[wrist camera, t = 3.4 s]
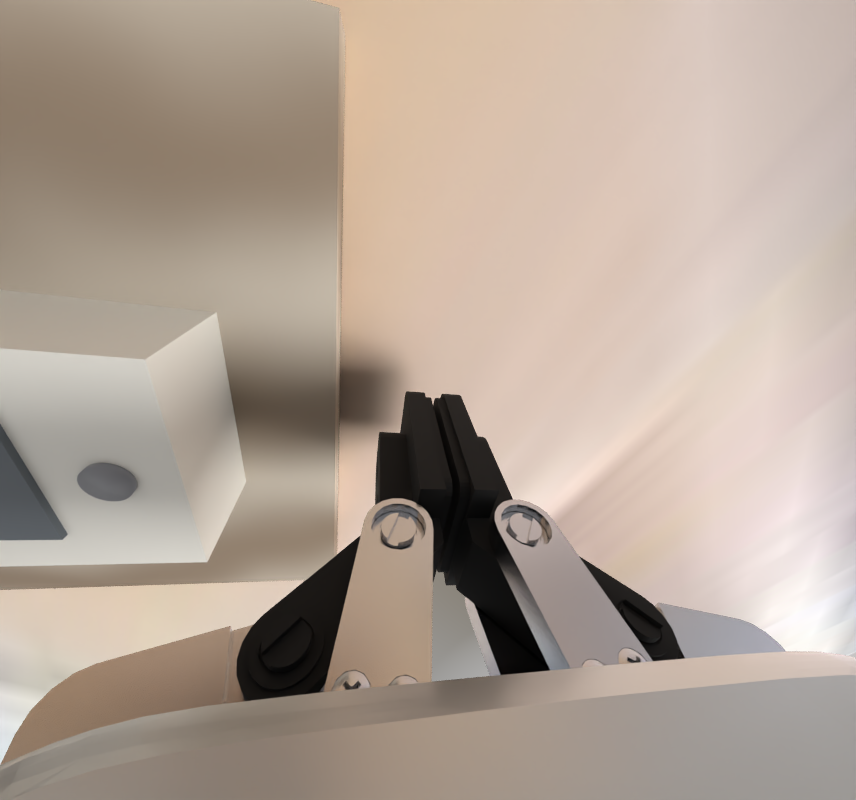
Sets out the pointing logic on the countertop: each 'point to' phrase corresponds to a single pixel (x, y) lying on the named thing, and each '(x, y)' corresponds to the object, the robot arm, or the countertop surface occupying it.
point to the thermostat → (113, 433)
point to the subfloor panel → (194, 228)
